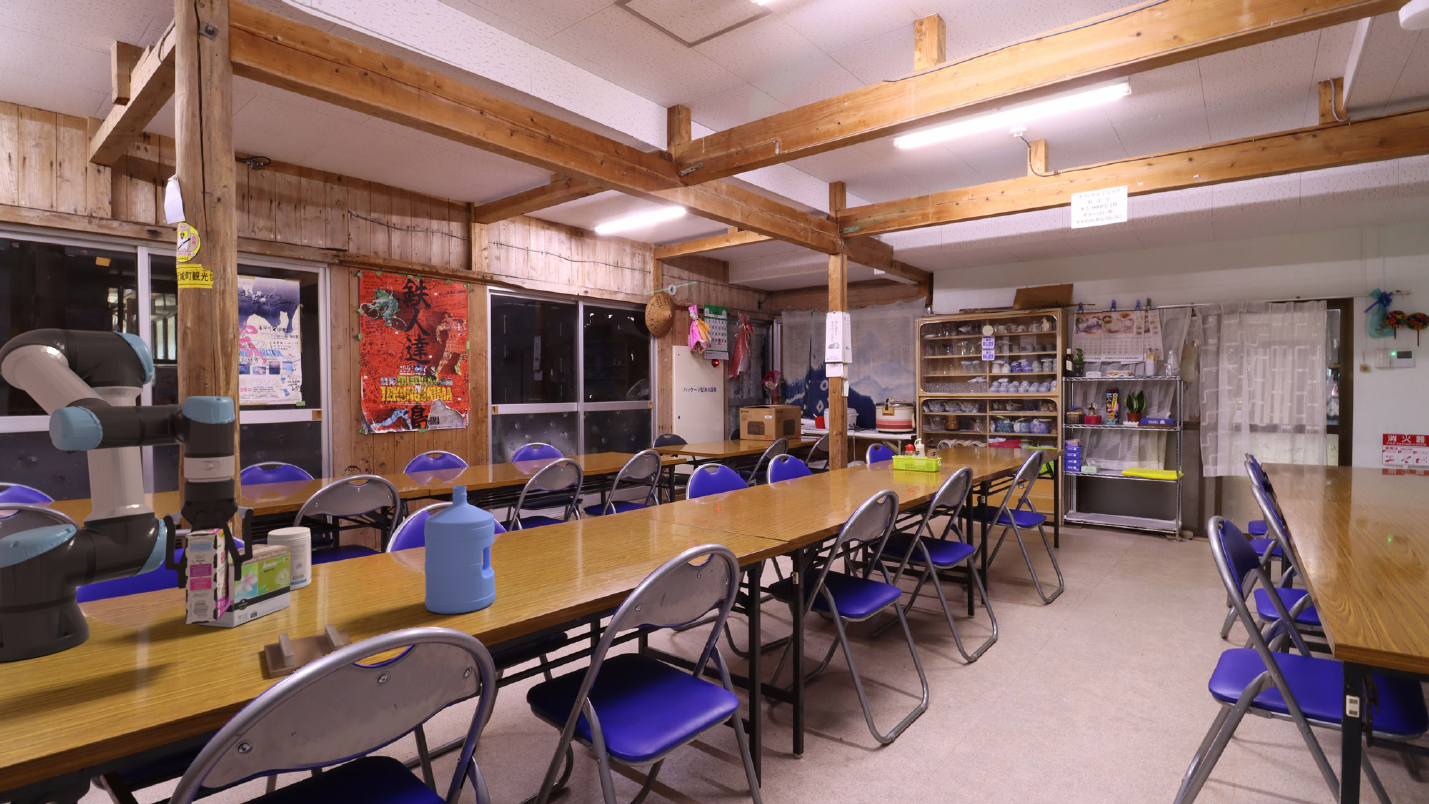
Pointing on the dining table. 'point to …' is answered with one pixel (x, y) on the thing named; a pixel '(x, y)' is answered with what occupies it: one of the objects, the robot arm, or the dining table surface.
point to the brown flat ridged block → (302, 650)
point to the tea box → (259, 586)
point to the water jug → (459, 557)
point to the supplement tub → (295, 553)
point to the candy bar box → (207, 575)
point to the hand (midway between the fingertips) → (210, 601)
